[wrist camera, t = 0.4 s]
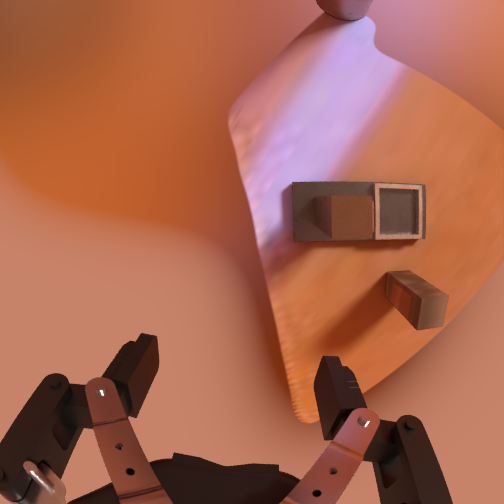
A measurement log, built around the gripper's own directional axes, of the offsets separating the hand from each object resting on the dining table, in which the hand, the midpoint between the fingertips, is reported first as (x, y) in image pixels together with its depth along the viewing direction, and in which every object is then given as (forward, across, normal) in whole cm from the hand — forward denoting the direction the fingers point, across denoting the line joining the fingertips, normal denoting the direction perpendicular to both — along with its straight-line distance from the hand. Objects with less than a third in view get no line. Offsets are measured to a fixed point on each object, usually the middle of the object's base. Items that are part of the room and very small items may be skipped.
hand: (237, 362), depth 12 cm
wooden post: (+25, -23, +5) cm, 35 cm away
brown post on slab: (+27, -15, -5) cm, 31 cm away
